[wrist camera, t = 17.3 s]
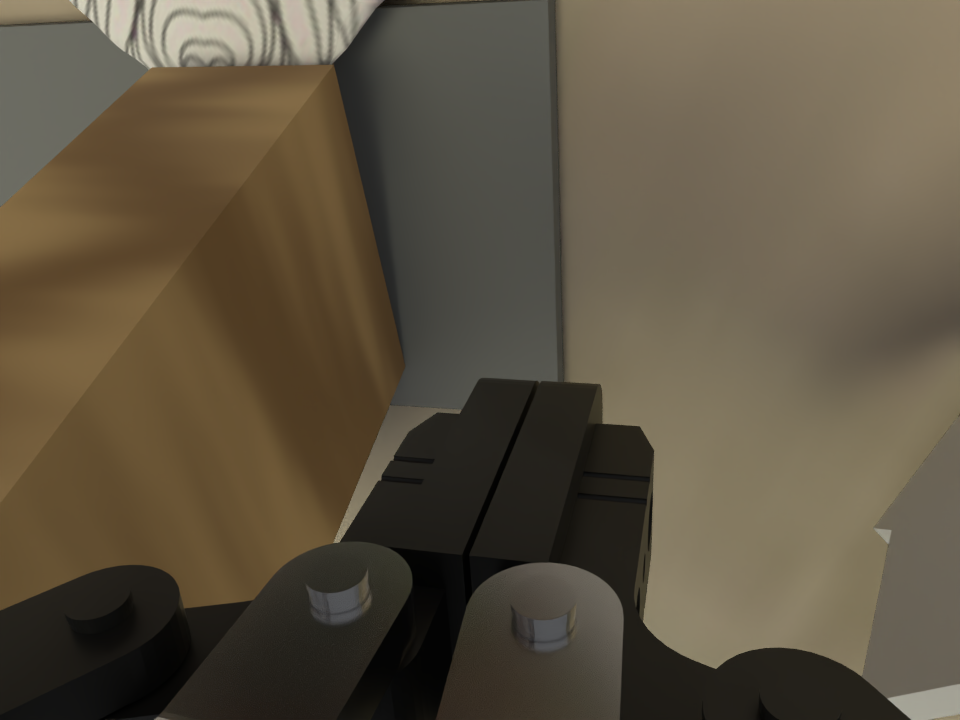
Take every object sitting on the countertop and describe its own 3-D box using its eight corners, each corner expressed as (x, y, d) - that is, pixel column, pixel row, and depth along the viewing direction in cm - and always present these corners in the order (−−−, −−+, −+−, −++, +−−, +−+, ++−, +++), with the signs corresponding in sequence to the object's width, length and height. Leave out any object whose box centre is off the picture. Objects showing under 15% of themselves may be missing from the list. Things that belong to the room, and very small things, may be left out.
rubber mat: (564, 401, 23) (558, 416, 22) (-46, 362, 27) (-66, 373, 27) (554, -3, 19) (547, -1, 18) (-160, 33, 23) (-187, 36, 23)
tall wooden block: (333, 64, 17) (-79, 607, 9) (405, 366, 22) (193, 883, 14) (151, 67, 18) (-379, 558, 10) (262, 356, 23) (-18, 833, 15)
